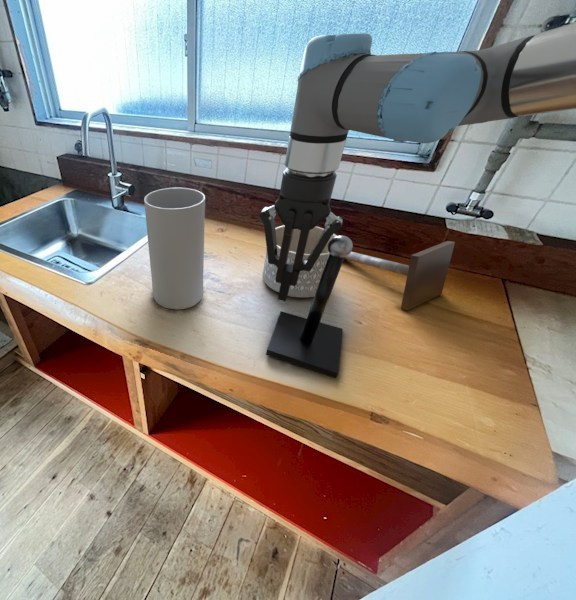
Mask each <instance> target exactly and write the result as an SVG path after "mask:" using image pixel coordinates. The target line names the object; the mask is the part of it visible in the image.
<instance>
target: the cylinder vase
mask: <svg viewBox="0 0 576 600" xmlns="http://www.w3.org/2000/svg"><path fill="white" fill-rule="evenodd" d="M143 202H144V212H145V222H146V233H147V245H148V256H149V265H150V267H149V268H150V276H151V287H152V296H153V300H154V301H155V302H156V304H158V305H159V306H161V307H163V308H166V309H169V310H185V309H189V308H192V307H195V305H197V304H198V303H199V302H200V301H201V300H202V299H203V295H204V268H205V267H204V265H205V261H204V260H205V226H206V225H205V224H206V223H205V219H206V195H205V194H204V193H203V192H202V191H199V190H198V189H194V188H188V187H166V188H161V189H157V190H154V191H151V192H149V193H147V194H146V195H145V196H144V198H143Z"/></svg>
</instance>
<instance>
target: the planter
mask: <svg viewBox="0 0 576 600" xmlns="http://www.w3.org/2000/svg"><path fill="white" fill-rule="evenodd" d="M284 228H285V226H284V225H283V224H282V225H280V226H277V227H275V230H276V241H277V252H278V256H280V251H281V246H282V241H283V235H284ZM324 229H325V228H323V227H320V226H318V225H317V226H316V227H314V228H313V229H311V230H310V232H309V236H308V240H307V244H306V248H305V253H304V257H303V261H305V260H307V259H308V257H309V255H310V253H311V252H312V250H313V248H314V246H315V245H316V243H317V241H318V239H319V238H320V236H321V234H322V232H323V231H324ZM300 232H301V230H298V229H294V230H293V235H292V240H291V245H290V249H289V254H288V260H287V262H286V264H291V265H294V260H295V256H296V251H297V247H298V242H299V237H300ZM336 236H338V235H337V234H336V233H334V234H333V235H332V236H331V237H330V239H329V241H328V242H327V244H326V246H325V247H324V249H323V251H322V252H321V254H320V256H319V257H318V259H317V261H316V262H315V264H314V266H313V267H312V269H311V270H310V271H305V270H303V271H300V273H299V277H298V281H297V284H296V285H295V286H291V285H290V288H289V292H288V296H287V297H291V298H314V296H315V293H316V290H317V287H318V285H319V282H320V279H321V276H322V273H323V270H324V267H325V264H326V261H327V259H328V256H329V251H328V244H329V242H330V240H331V239H332V238H334V237H336ZM276 274H277V266H276V265H274V264H269V263H268V256H267V249H265V255H264V263H263V268H262V281H263V282H264V283H265V285H267V286H268V287H269V288H270V289H271V290H273V291H275V292H277V293H279V290H280V285H281V283H277V282H276V280H275V279H276Z"/></svg>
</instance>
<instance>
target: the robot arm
mask: <svg viewBox="0 0 576 600" xmlns="http://www.w3.org/2000/svg"><path fill="white" fill-rule="evenodd" d="M305 45H306V46H305V48H304V53H303V56H302V61H301V65H300V69H299V73H298V74H299V75H298V76H297V87H296V94H295V99H294V105H293V106H294V107H293V112H292V118H291V125H290V131H289V136H288V141H287V147H286V153H285V154H286V155H285V159H284V167H286V168H285V169H284V170H283V171H282V178H281V182H280V183H281V184H280V190H279V196H278V198H277V199H276V201H275V203H274V204H272V205H270V206H264V207H263V208H262V209H261V211H260V212H259V214H258V215H259V218H260V220H261V222H262V225H263V229H264V237H265V246H266V247H265V248H266V250H267V256H268V263H269V264H274V265H276V266H277V274H276V279H275V280H276V282H277V283H281V285H280V290H279V292H278V296H277V300H278V301H281V302H286V301H287V298H288V297H289V296H288V292H289V288H290V285H291V286H295V285H296V284H297V281H298V277H299V273H300V271H303V270H305V271H310V270H311V269H312V267H313V266H314V264H315V262H316V261H317V259H318V257H319V256H320V254H321V252H322V251H323V249H324V247H325V246H326V244H327V242H328V241H329V239H330V237H331V236H332V235H333V234H336V233H337V232H338V231H340V230H341V229H342V226H343V221H344V219H343V217H342V216H337V215H335V213H333V212H332V205H331V198H332V195H333V191H334V187H335V184H336V181H337V176H338V175H337V172H336V171H337V170H339V168H340V165H341V162H342V161H341V160H342V157H343V153H344V149H345V146H346V144H347V143H346V142H347V138H348V134H349V132H350V131H351V132H358V133H362V134H365V135H371V136H375V137H381V138H384V139H389V140H393V141H394V142H398V143H405V142H410V143H418V144H431V143H435V142H438V141H440V140H441V139H443V138H444V137H445V136H446V135H447V134H448V133H450V132H452V131H454V129H456V127H461V126H467V125H468V126H469V125H476V124H484V123H488V122H495V121H501V120H503V121H504V120H509V119H514V118H520V117H528V116H536V115H542V114H549V113H555V112H556V113H557V112H563V111H571V110H576V21H575V22H572V23H569V24H565V25H562V26H559V27H555V28H552V29H549V30H545V31H543V32H538V33H536V34H533V35H530V36H525V37H522V38H518V39H514V40H511V41H508V42H505V43H504V42H503V43H501V44H498V45H494V46H491V47H487V48H484V49H478V50H477V49H476V50H462V51H461V50H460V51H440V52H439V51H432V52H431V51H430V52H423V53H421V52H420V53H399V54H398V53H397V54H396V53H395V54H372V52H371V49H372V45H373V36H372V35H371V34H370V33H367V32H366V33H365V32H364V33H363V32H362V33H339V34H324V35H316V36H314V37H312V38H311V39H309V40H308V42H307V44H305ZM277 216H278V217H279V219H280V222H281V223H282V226H283V225H284V226H285V228H284V235H283V241H282V246H281V251H280V256H278V252H277V241H276V230H275V228H276V221H275V219H276V217H277ZM324 220H325V222H324V228H323V229H324V231H323V232H322V234H321V236H320V238H319V239H318V241H317V243H316V245H315V246H314V248H313V250H312V252H311V253H310V255H309V257H308V259H307V260H305V261H303V257H304V253H305V248H306V244H307V240H308V236H309V232H310V230H311V229H313V228H314V227H316V226H317V227H318V225H319V224H321V223H322V222H323V221H324ZM294 229H298V230H301V232H300V237H299V242H298V247H297V251H296V256H295V260H294V265H291V264H286V262H287V260H288V254H289V249H290V245H291V240H292V235H293V230H294Z"/></svg>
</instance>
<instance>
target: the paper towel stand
mask: <svg viewBox="0 0 576 600" xmlns="http://www.w3.org/2000/svg"><path fill="white" fill-rule="evenodd" d="M455 244H456V241H451V240H446V241H444V242H441V243H439V244H435V245H433V246H431V247H429V248H426V249H423V250H421V251H418V252H416V253H413V254H411V256H410V261H409V265H408V264H405V263H404V264H403V263H400V262H396V261H392V260H388V259H383V258H379V257H377V256H376V257H375V256H371V255H367V254H363V253H358V252H355V251H351V253H350V254H349V255H347V256H346V257H345V258H344V261H343V262H345V261H351V262H353V263H354V262H355V263H358V264H362V265H364V266H365V265H366V266H369V267H373V268H376V269H380V270H384V271H387V272H391V273H395V274H399V275H403V276H406V279H405V285H404V290H403V296H402V300H401V305H400V309H401V310H403V311H407V312H408V311H409V310H412V309H414V308H416V307H418V306H420V305H422V304H424V303H427V302H429V301H430V300H432V299H434V298H437V297H439V296H440V295H441V296H442V294H443V291H444V287H445V284H446V279H447V275H448V271H449V268H450V263H451V259H452V255H453V252H454V248H455Z"/></svg>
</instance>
